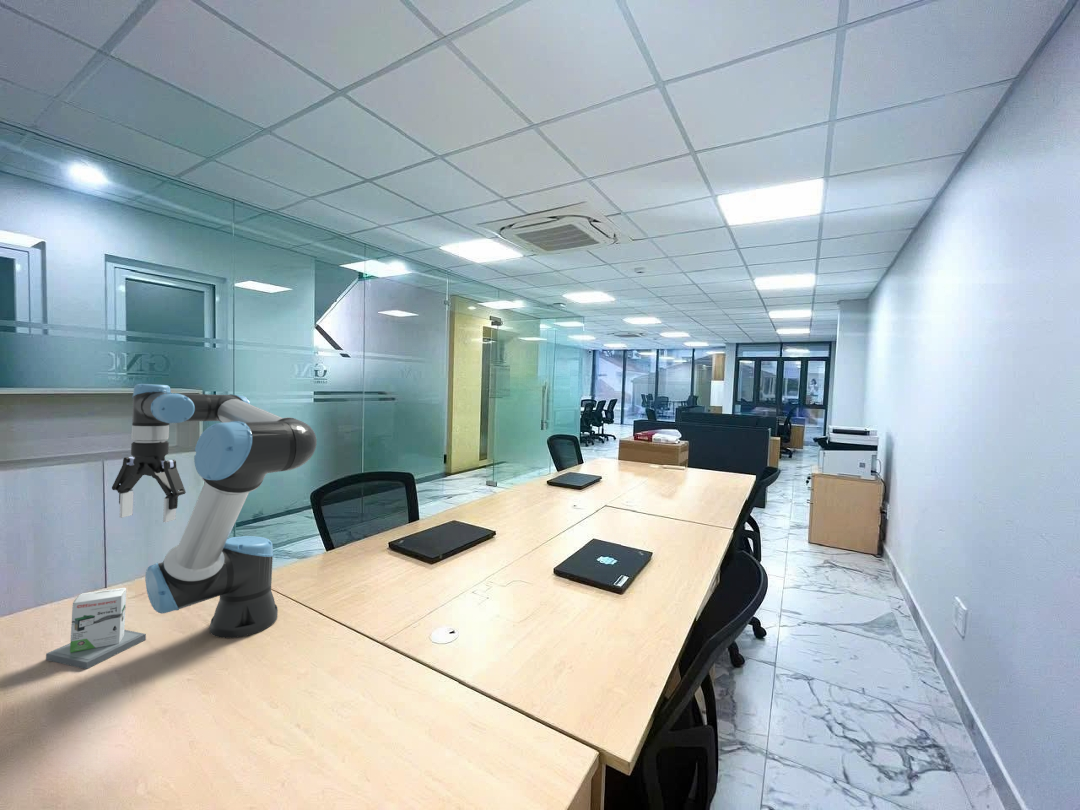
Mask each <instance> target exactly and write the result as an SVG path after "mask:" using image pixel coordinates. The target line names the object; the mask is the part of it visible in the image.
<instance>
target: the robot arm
mask: <svg viewBox="0 0 1080 810" xmlns="http://www.w3.org/2000/svg"><path fill="white" fill-rule="evenodd" d="M132 392H133V393H132V397H131V398H132V418H131V419H132V421H131V422H132V423H131V424H132V425H131V434H130V435H131V437H130V439H131V441H132V442H131V443H130V444H131V447H130V455H131V456H128V457H127V456H126V457H124V458H123V459H122V465H121V468H120V470H119V471H118V473H117V475H116V477H115V480H114V482H113V483H112V486H111V489H112V490H113V491H116V492H117V493H118V504H119V518H122V519H123V518H126V517H129V516H133V511H134V489H133V488H134V487H135V486H136V485H137V483H138V482H139V481H140V479H142V477H143V476H148V477H152V478H153V479H155V480H156V482H157V484H158V485H159V486H160V488H161V490H162V491H163V492H164V494H165V497H164V498H163V513H162V515H163V517H162V521H163V522H162V523H169V522H172V521H175V520H176V516H177V515H176V514H177V509H178V505H179V503H178V502H179V498H178V497H179V496H181V495H182V496H183V495H185V494H186V493H187V492H186V489H185V486H184V484H183V482H182V479H181V476H180V474H179V471H178V468H177V461H176V460H175V459H170V460H166V455H168V454H169V447H170V446H169V444H170V442H169V441H167V440H168V439H169V438H170V437H169V436H170V424H180V423H184V422H185V423H188V422H192V423H194V422H217V423H214V424H212V425H210V426H208V427H207V428H205V429H204V431H203V432H202V433H201V434H200V436H199V437H198V439H197V442H196V444H195V448H194V451H195V454H194V457H193V459H194V461H193V462H194V467H195V470H196V472H197V474H198V475H199V476H200V477H201V479H202V481H203V482H204V483H203V486H202V488H201V490H200V493H199V495H198V498H197V500H196V503H195V504H194V506H193V507H194V508H193V510H192V512H191V514H190V517H189V519H188V522H187V524H186V527H185V528H184V531H183V533H182V535H181V538H180V540H179V543H178V544H177V545H176V546H174V547H172V548H171V549H170V550H169V551H168V552H167V554H165V556H164V558H163V561H162V562H156V563H154V564H151V565H149V566H148V567H147V569H146V571H145V579H144V580H145V589H146V594H147V597H148V600H149V603H150V605H151V607H152V608H153V610H154V611H155V612H156V613H158V614H167V613H172V612H174V611H180V610H182V609H184V608H188V607H190V606H193V605H196V604H199V603H202V602H205V601H208V600H211V599H213V598H217V597H219V601H218V602H217V605H216V607H215V611H214V614H213V616H212V618H211V620H210V623H209V624H210V625H209V626H210V627H209V633H210V634H211V635H212V636H213V637H216V638H220V639H237V638H242V637H247V636H251V635H255V634H257V633H260V632H261V631H264V630H265V629H268V628H270V627H271V626H272V625H273V624H274V623H275V622H276V621H277V620H278V616H279V615H278V613H279V612H278V611H279V610H278V606H277V604H276V602H275V598H274V595H273V592H272V580H273V578H272V577H273V560H274V558H273V557H274V555H275V554H274V549H273V548H274V547H273V545H274V544H273V542H272V540H270V539H269V538H266V537H263V536H254V535H243V536H242V535H239V536H234V537H229V536H230V535H231V533H232V531H233V528H234V526H235V524H236V521H238V518H239V515H240V513H241V511H242V509H243V507H244V504H245V503H246V500H247V498H248V496H249V494H250V493H251V492H253V491H255V490H256V489H258V488H259V487H260V486H261V485H262V484H263V481H264V479H265V477H266V475H268V474H271V473H278V472H279V473H280V472H288V471H291V470H294V469H298V468H300V467H302V466H303V465H305V464H306V463H307V462H308V461H309V460H311V458H312V457H313V455H314V453H315V451H316V448H317V442H318V441H317V440H318V439H317V436H316V433H315V431H314V429H313V428H312V427H311V426H310V425H308V424H307V423H306V422H304V421H303V420H299V419H297V418H294V417H287V416H286V417H281V416H280V415H279V416H278V415H276V414H274V413H272V412H270V411H267V410H265V409H262V408H260V407H257V406H254V405H252V404H251V403H250V400H248V397H246V396H245V395H242V394H210V393H209V394H208V393H207V394H204V393H178V392H177V393H175V392H174V393H173V392H171V387H170V386H169V385H167V384H156V383H155V384H154V383H153V384H152V383H136V384H135V385H134V387H133V391H132Z"/></svg>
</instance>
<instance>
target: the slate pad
mask: <svg viewBox="0 0 1080 810" xmlns="http://www.w3.org/2000/svg"><path fill="white" fill-rule="evenodd" d="M146 640H147V633H142V632H138V631H132V630H128V629H124V636H123V638H122V640H121V641H120V643H118V644H113V645H108V646H103V647H98V648H93V649H87V650H82V651H77V652H72V653H70V643H71V642H70V643H67V644H65V645H63V646H61V647H57V648H56V649H53V650H51V651H48V652H46V654H45V660H46V661H48V662H53V663H57V664H62V665H66V666H71V667H75V668H81V669H85V670H89V669H90V668H92V667H95V666H96V665H98V664H100V663H102V662H104V661H106V660H108V659H110V658H112V657H114V656H116V655H118V654H120V653H122V652H124V651H126V650H128V649H130V648H132V647H134V646H137V645H138V644H140V643H142V642H144V641H146Z"/></svg>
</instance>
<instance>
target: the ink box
mask: <svg viewBox="0 0 1080 810" xmlns="http://www.w3.org/2000/svg"><path fill="white" fill-rule="evenodd" d="M126 603H127V588H126V587H120V588H111V589H103V590H96V591H89V592H83V593H80V594H78V595H77V596H76V597H75V598H74V600H73V602H72V611H71V624H70V625H71V627H70V653H72V652H77V651H82V650H87V649H93V648H98V647H103V646H108V645H113V644H118V643H120V641H121V640H122V638H123V636H124V630H125V626H126V625H125V623H126V608H127V607H126Z"/></svg>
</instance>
